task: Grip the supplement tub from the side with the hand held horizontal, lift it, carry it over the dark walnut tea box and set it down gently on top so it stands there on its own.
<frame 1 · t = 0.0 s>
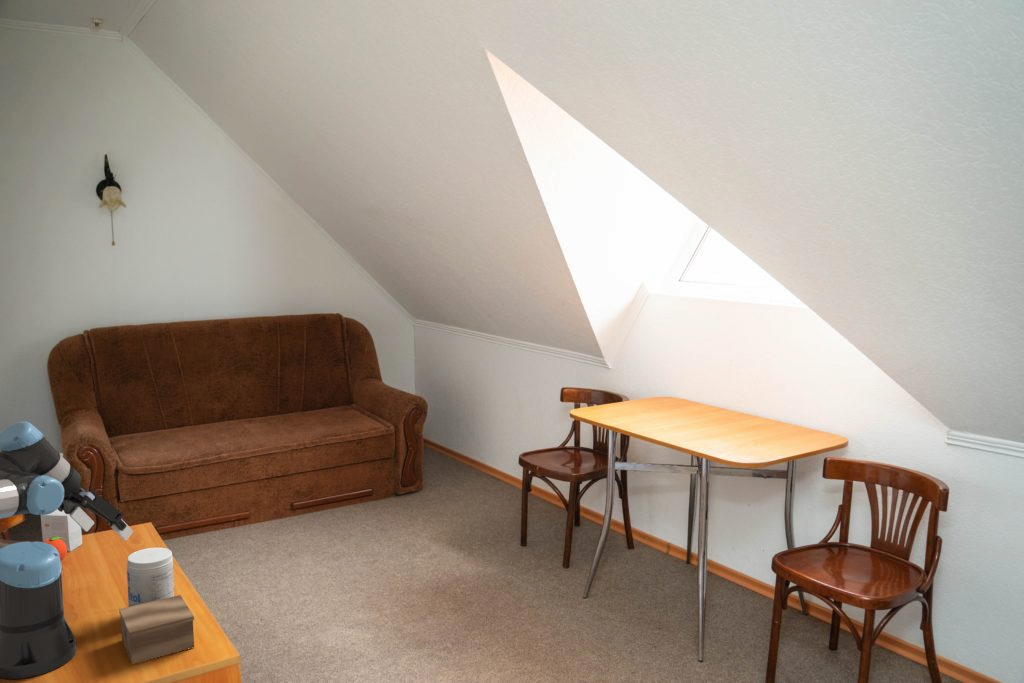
hand: (109, 531, 192), 15 cm above the table, tool tilted 35°, fingers open, 13 cm apart
supplement tub: (152, 617, 182), on the table
small box: (63, 548, 221), on the table
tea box: (157, 643, 169), on the table
clementine: (55, 564, 211), on the table
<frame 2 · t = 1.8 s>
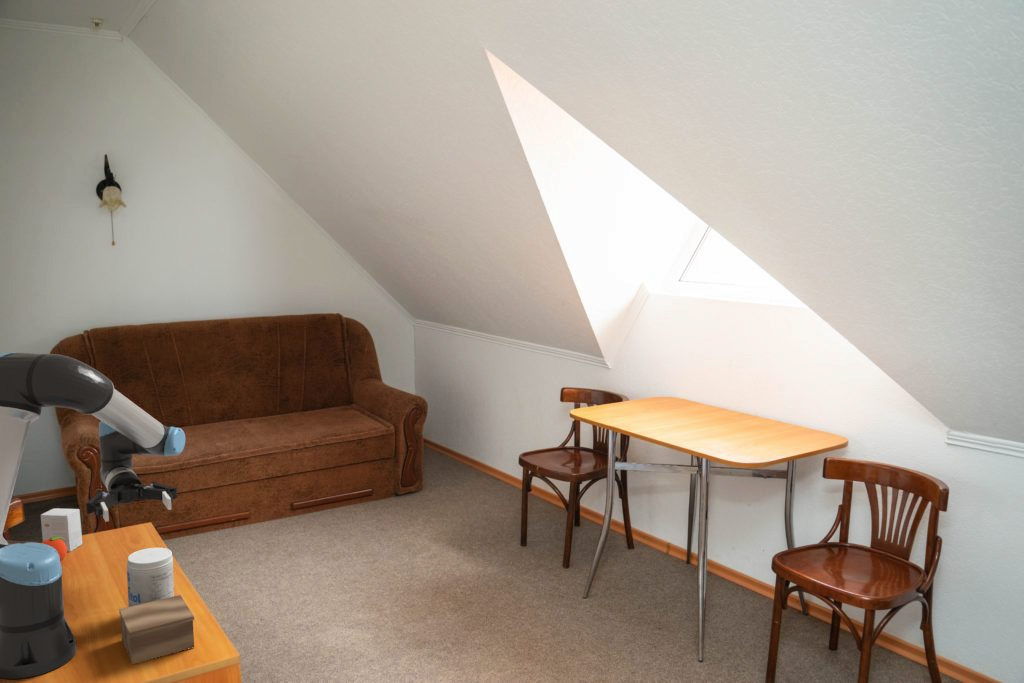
hand: (138, 510, 186), 22 cm above the table, tool horizontal, fingers open, 13 cm apart
nothing on the table moved.
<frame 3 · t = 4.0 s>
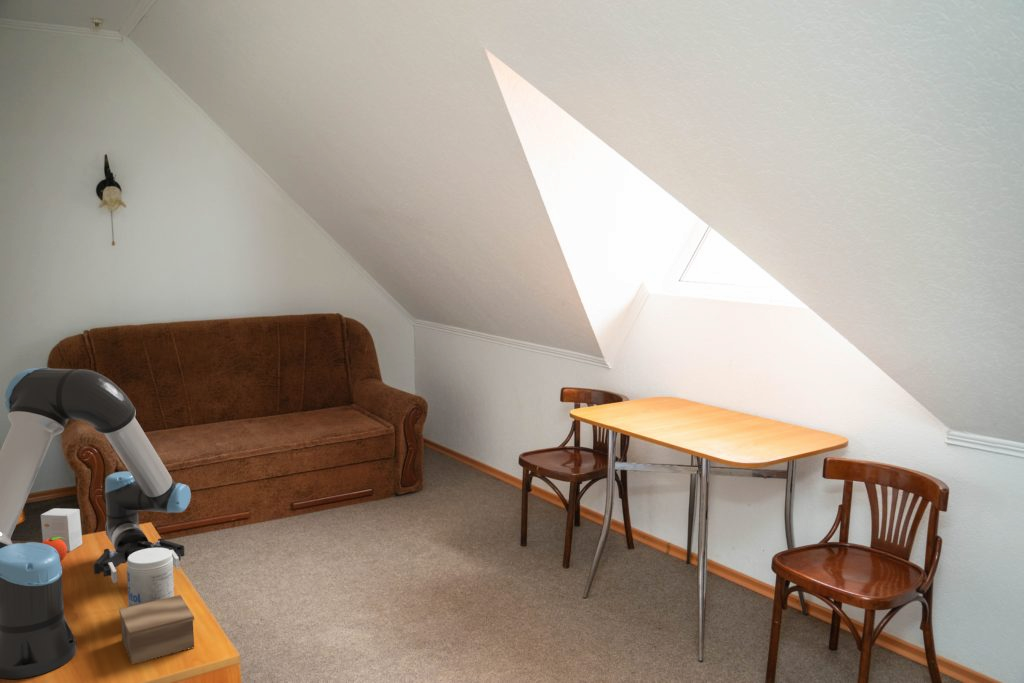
hand: (147, 570, 186), 8 cm above the table, tool horizontal, fingers open, 13 cm apart
nothing on the table moved.
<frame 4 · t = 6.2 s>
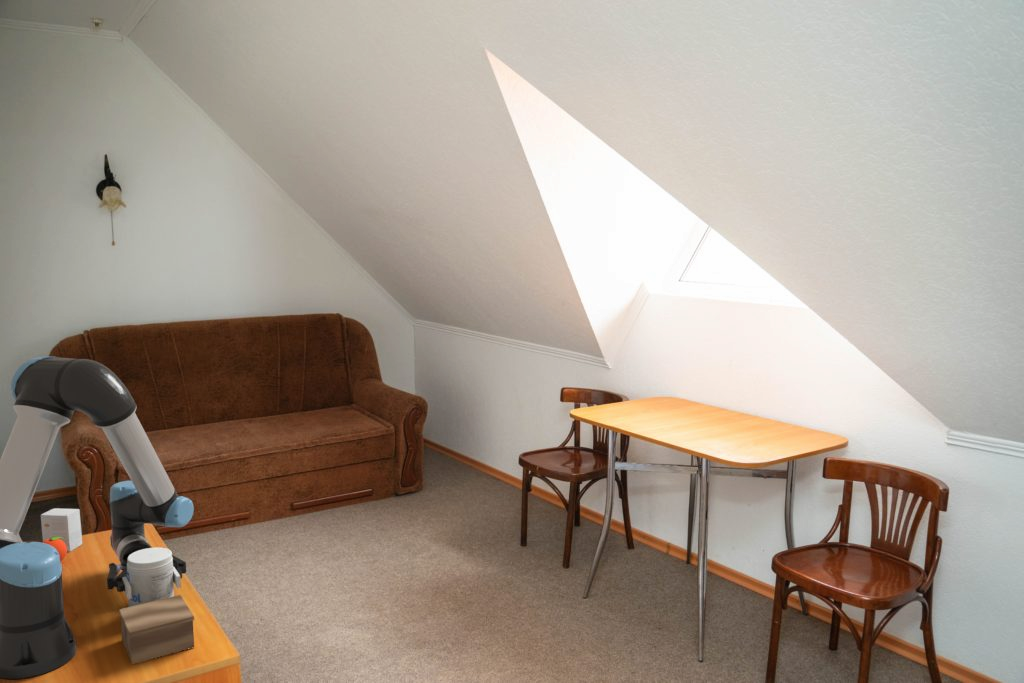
hand: (154, 587, 177), 9 cm above the table, tool horizontal, fingers closed on supplement tub, 9 cm apart
supplement tub: (152, 616, 182), on the table, touching gripper
everything else where it was.
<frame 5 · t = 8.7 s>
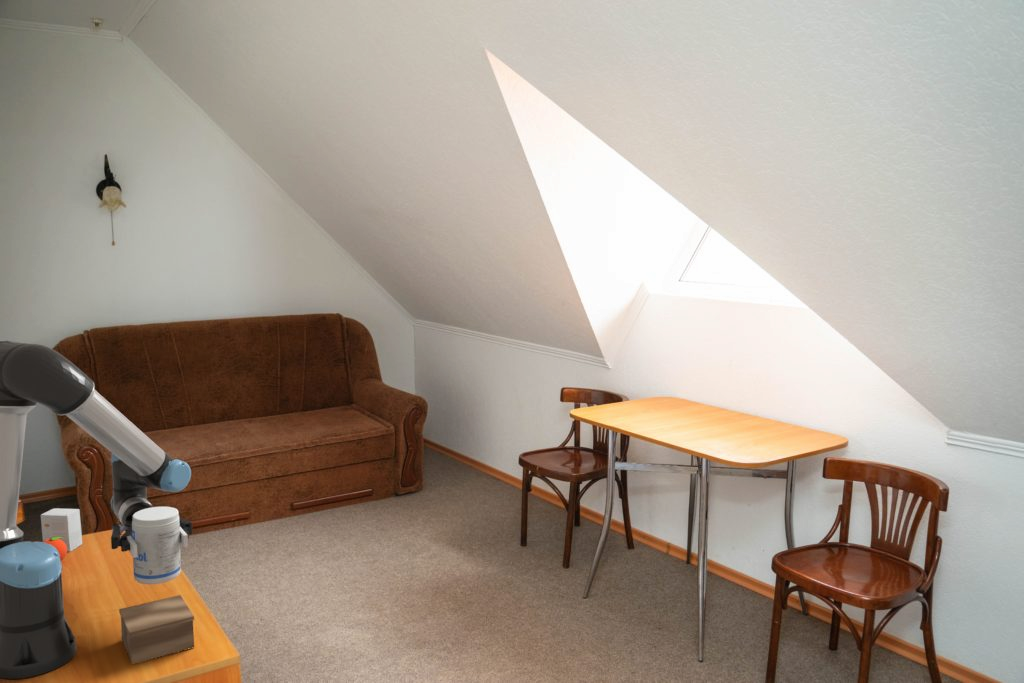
hand: (161, 546, 171), 20 cm above the table, tool horizontal, fingers closed on supplement tub, 9 cm apart
supplement tub: (158, 577, 175), point 11 cm above the table, touching gripper
everything else where it was.
when the fingers open (16 cm above the table, at t = 11.4 s): supplement tub stays where it is, resting on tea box.
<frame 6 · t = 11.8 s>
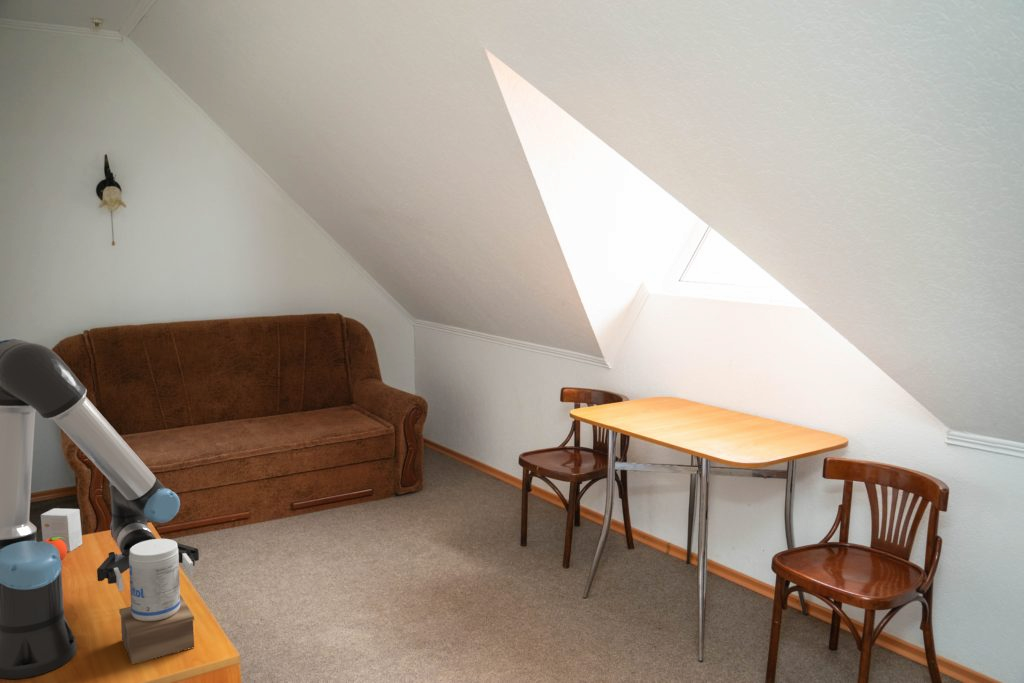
hand: (157, 577, 164), 16 cm above the table, tool horizontal, fingers open, 13 cm apart
supplement tub: (156, 613, 168), point 7 cm above the table, touching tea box
everything else where it was.
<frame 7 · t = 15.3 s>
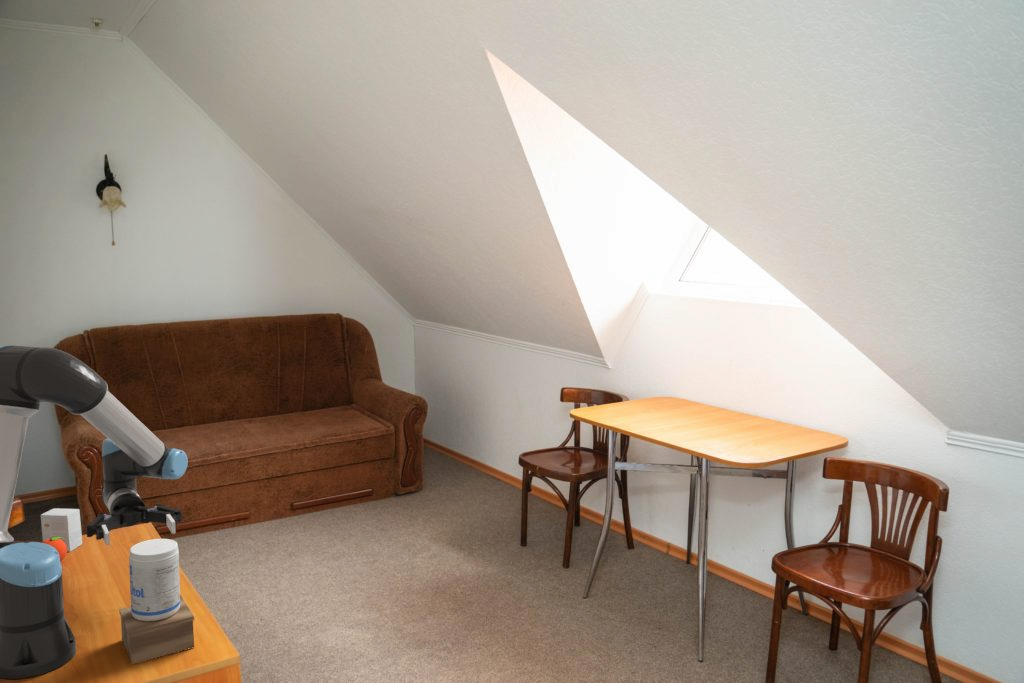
hand: (141, 533, 178), 20 cm above the table, tool horizontal, fingers open, 13 cm apart
nothing on the table moved.
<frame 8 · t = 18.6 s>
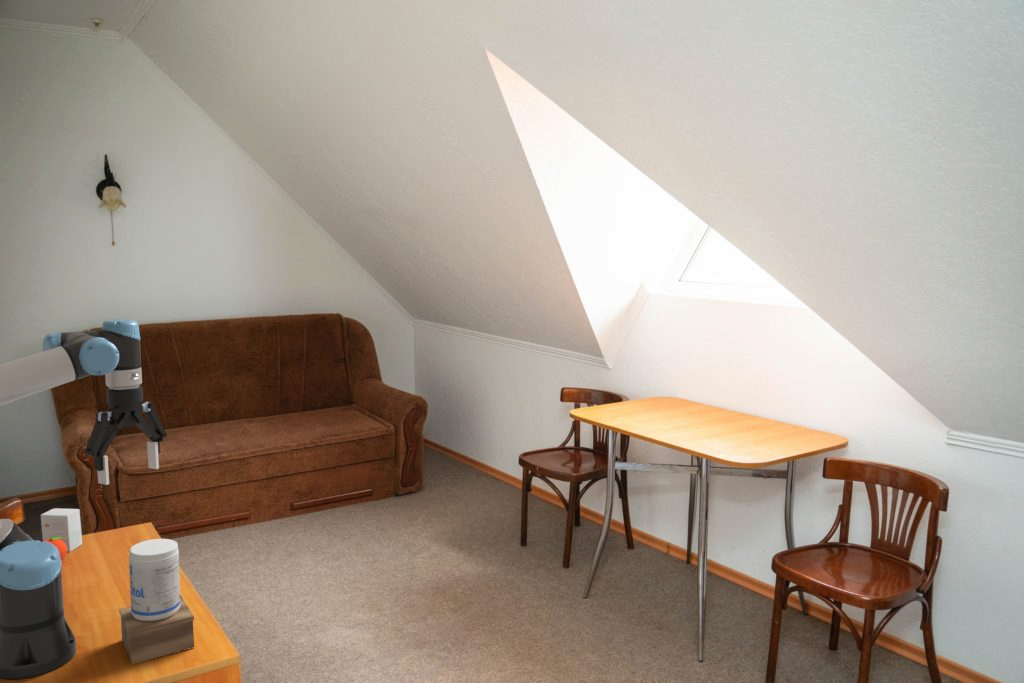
hand: (129, 475, 185), 31 cm above the table, tool pointing down, fingers open, 13 cm apart
nothing on the table moved.
at the end: supplement tub point 6.8 cm above the table; supplement tub 0.1 cm from the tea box (horizontally); supplement tub tilted 0° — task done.
